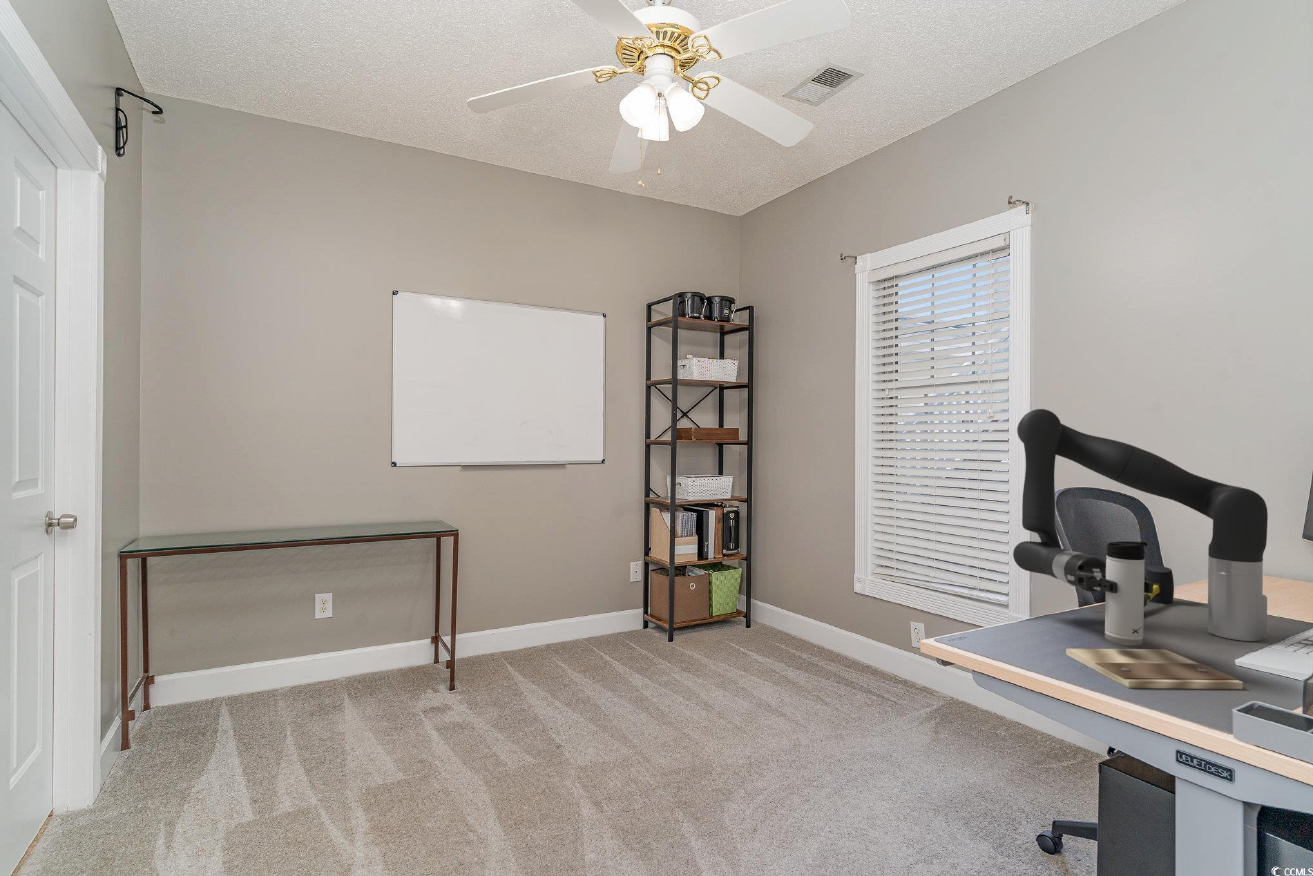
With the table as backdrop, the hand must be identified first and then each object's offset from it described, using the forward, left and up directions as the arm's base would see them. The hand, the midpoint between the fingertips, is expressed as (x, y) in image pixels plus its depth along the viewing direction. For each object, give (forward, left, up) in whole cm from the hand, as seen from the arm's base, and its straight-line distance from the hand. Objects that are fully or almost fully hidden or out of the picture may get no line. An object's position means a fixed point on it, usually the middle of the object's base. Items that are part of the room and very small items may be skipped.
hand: (1133, 588), depth 130 cm
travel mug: (0, -2, -11) cm, 11 cm away
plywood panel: (0, +4, -15) cm, 15 cm away
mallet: (-34, -42, -15) cm, 56 cm away
